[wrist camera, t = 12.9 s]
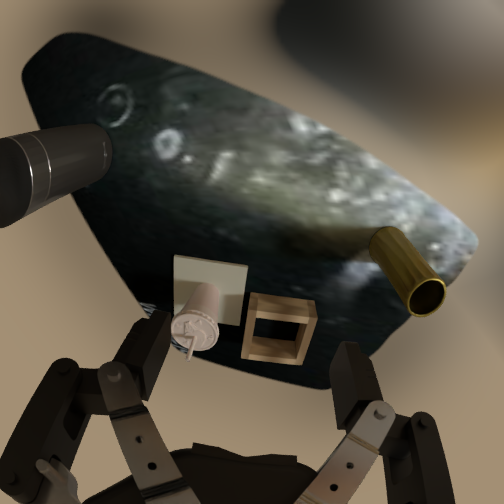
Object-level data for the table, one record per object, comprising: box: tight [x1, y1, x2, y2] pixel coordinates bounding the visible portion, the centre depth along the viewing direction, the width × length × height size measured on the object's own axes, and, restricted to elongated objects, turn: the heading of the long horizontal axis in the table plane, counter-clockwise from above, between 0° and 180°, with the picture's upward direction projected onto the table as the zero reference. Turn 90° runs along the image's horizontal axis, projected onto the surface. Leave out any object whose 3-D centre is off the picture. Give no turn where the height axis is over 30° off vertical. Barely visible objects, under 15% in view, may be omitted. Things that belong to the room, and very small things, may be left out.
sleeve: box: [241, 292, 317, 365], centre depth 46 cm, size 10×10×4 cm
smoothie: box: [171, 283, 219, 362], centre depth 39 cm, size 6×6×14 cm
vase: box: [369, 227, 446, 317], centre depth 34 cm, size 6×6×14 cm
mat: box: [174, 255, 248, 326], centre depth 46 cm, size 11×11×1 cm
